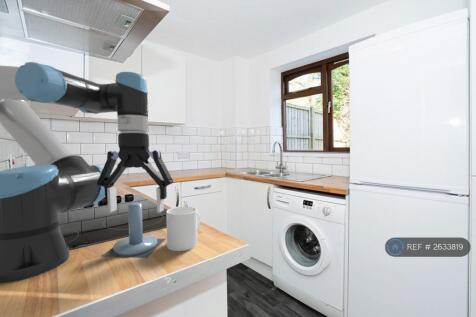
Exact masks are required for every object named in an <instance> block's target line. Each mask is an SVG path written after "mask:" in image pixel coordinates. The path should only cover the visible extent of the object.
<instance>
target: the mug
mask: <svg viewBox="0 0 476 317" xmlns="http://www.w3.org/2000/svg"><path fill="white" fill-rule="evenodd" d="M165 218H166V246H167V249H168V250H170V251H173V252H182V251H184V252H185V251H188V250H189V251H190V250H191V249H194V248H195V247H196V246H197V245H198V231H199V230H200V226H201V217H200V214H199V212H198V209H197V208H196V207H193V206H177V207H172V208H169V209H167V210H166V216H165Z"/></svg>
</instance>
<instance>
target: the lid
mask: <svg viewBox="0 0 476 317" xmlns="http://www.w3.org/2000/svg"><path fill="white" fill-rule="evenodd" d="M127 206H128V207H127V208H128V212H127V214H128V237H125V238H122V239H119V240H118V241H116V242H115V243H114V244H113V247H112V248H113V252H114V253H115V254H117V255H120V256H133V255H139V254H143V253H146V252H149V251H151V250H153V249H154V248H155V247H156V246H157V237H156V236H154V235H150V234H144V233H143V203H142V202H131V203H128V204H127Z"/></svg>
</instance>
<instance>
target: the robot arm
mask: <svg viewBox="0 0 476 317" xmlns="http://www.w3.org/2000/svg"><path fill="white" fill-rule="evenodd" d="M114 81H115V82H111V83H97V82H95V81H92V80H88V79H85V78H83V77H80V76H77V75H75V74H71V73H68V72H65V71H63V70H60V69H57V68H56V67H54V66H51V65H47V64H43V63H38V62H35V61H34V62H33V61H28V62H25V63H24V64H22V65H20V66H12V65H0V124H1V126H2V127H3V128H4V129H5V131H6V132H7V133H8V134H9V135H10V136H11V137H12V139H13V140H14V141H15V142H16V143H17V145H19V147H20V148H21V149H22V150H23V151H24V153H26V155H27V156H28V157H29V158H30V160H31V161H32V162H33V163H34V165H28V166H27V165H25V166H18V167H13V168H7V169H3V170H0V284H6V283H12V282H18V281H22V280H26V279H30V278H34V277H36V276H39V275H42V274H45V273H48V272H50V271H52V270H55V269H56V268H58V267H60V266H61V265H63V264H64V263H65V262H66V261H68V259H69V258H70V248H69V245H67V243H66V241H65V240H66V239H65V238H64V235H63V233H62V230H61V228H60V227H61V226H60V215H61V214H63V213H67V212H71V211H74V210H77V209H81V208H84V207H90V206H93V205H94V204H96V203H99V202H101V201H102V200H103V199H105V200H107V213H113V212H114V211H116V210H118V205H117V204H118V203H117V186H115V183H116V182H117V181H118V180H119V178H120V177H121V176H122V174H123V173H124V172H125V170H127V169H130V168H135V169H136V168H138V169H139V168H141V169H142V170H144V171H145V172H146V173H147V174H148V175H149V176H150V178H151V179H152V180H153V181H154V182H155V183H156V185H157V186H158V187H155V189H156V191H155V192H156V213H158V214H159V213H162V212H163V211H164V210H165V207H164V206H165V204H164V203H165V202H164V201H165V199H167V197H168V196H167V194H168V193H167V191H168V190H167V187H168V186H170V185H172V184H174V179H173V178H172V176H171V174H170V172H169V170H168V168H167V167H166V164H165V162H164V160H163V158H162V151H161V150H158V149H157V150H156V149H154V150H153V151H150V149H149V148H150V138H149V137H150V136H149V134H148V132H149V114H148V94H149V92H148V86H147V85H148V84H147V80H146V77H145V76H144V75H142V74H141V73H137V72H135V71H134V72H132V71H121V72H117V73H116V75H115V80H114ZM32 102H35V103H36V102H37V103H41V104H44V103H45V104H53V105H58V106H63V107H70V108H75V109H78V110H79V111H80V112H82V113H85V114H95V115H97V114H102V113H116V114H117V115H116V117H117V131H118V132H120V133H118V135H117V138H118V139H117V141H118V142H117V143H118V148H119V150H118V151H116V150H113V151H112V150H109V151H107V154H106V155H107V156H106V161H105V162H104V166H103V167H101V166H99V165H90V164H88V162H87V161H86V160H85V159H84V158H83V157H82V156H81V155H79V154H72V152H70V150H69V149H68V148H67V147H66V146H65V145H64V144H63V142H62V141H60V139H59V138H58V137H57V136H56V135H55V133H53V131H52V130H51V129H50V128H49V127H48V126H47V124H46V123H44V121H43V120H42V119H41V118H40V117H39V116H38V114H36V112H35V111H34V110H33V108H31V104H32ZM150 158H151V159H152V160H153V162H154V164H155V165H156V169H155V168H154V166H153V164H152V163H151V162H150V161H149V159H150ZM118 159H119V160H120V161H119V163H118V164H117V165H116V163H117V160H118ZM115 165H116V167H115ZM114 167H115V169H114ZM157 170H158V171H159V172H158V171H157ZM112 171H113V172H112Z"/></svg>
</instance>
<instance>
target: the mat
mask: <svg viewBox="0 0 476 317" xmlns="http://www.w3.org/2000/svg"><path fill="white" fill-rule="evenodd" d="M156 238H157V237H156ZM165 240H166V238H157V246H156V247H155V248H154V249H153V250H151V251H149V252H146V253H143V254H139V255H133V256H120V255H117V254H115V253H114V252H113V247H112V248H110V249H109V250H107V251H106V252H105V253H103V254H102V255H101V257H103V258H104V257H105V258H107V257H110V258H140V259H141V258H142V259H143V258H144V259H145V258H146V259H148V258H149V257H150V255H151V254H152V253H153V252H155V250H156V249H157V248H159V246H160V245H162V243H163V242H164V241H165Z"/></svg>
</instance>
